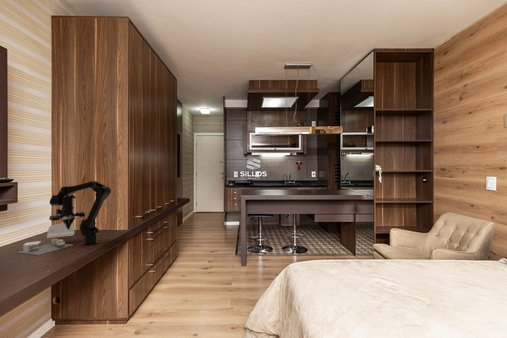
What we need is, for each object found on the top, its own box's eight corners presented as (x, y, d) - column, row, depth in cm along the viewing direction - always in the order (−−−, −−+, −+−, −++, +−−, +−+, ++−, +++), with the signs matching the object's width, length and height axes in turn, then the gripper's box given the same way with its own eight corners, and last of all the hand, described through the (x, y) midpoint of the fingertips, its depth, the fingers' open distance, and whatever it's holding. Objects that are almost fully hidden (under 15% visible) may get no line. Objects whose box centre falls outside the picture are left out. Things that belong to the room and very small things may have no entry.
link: (65, 246, 167) (65, 241, 167) (58, 247, 164) (58, 243, 164) (57, 242, 176) (57, 238, 176) (49, 243, 173) (49, 239, 173)
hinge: (46, 238, 191) (47, 224, 194) (47, 239, 195) (48, 225, 198) (74, 235, 199) (74, 221, 202) (75, 236, 203) (75, 222, 206)
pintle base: (73, 245, 172) (73, 237, 172) (39, 255, 152) (38, 247, 152) (52, 243, 177) (52, 236, 177) (16, 253, 157) (16, 244, 157)
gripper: (78, 203, 189) (79, 225, 189) (46, 206, 174) (46, 230, 174) (85, 204, 182) (85, 227, 182) (52, 207, 168) (52, 232, 168)
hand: (68, 229), depth 177 cm, fingers closed
